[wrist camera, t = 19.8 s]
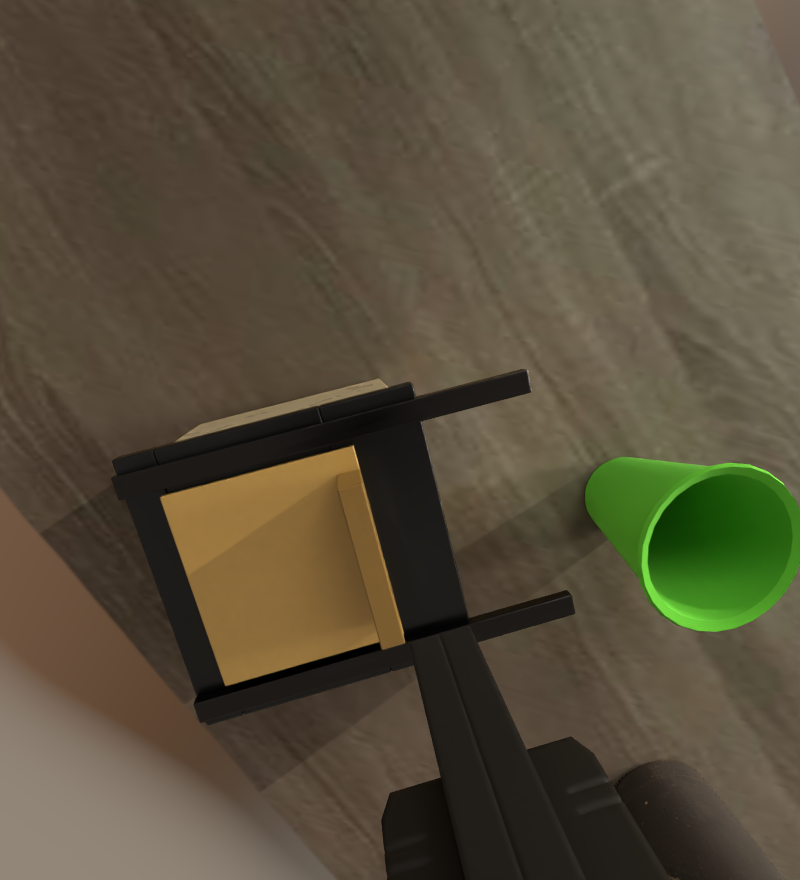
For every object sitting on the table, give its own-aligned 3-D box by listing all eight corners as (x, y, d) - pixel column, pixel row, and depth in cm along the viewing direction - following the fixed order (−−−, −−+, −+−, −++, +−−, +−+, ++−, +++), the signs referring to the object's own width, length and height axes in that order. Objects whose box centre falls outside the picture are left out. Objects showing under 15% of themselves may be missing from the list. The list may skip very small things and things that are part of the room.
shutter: (161, 494, 24) (139, 515, 21) (353, 444, 24) (356, 458, 22) (226, 681, 26) (213, 723, 23) (403, 630, 26) (411, 665, 23)
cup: (541, 542, 40) (618, 619, 29) (576, 416, 38) (670, 447, 28) (657, 563, 41) (772, 645, 30) (695, 442, 40) (830, 482, 29)
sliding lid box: (187, 417, 35) (105, 463, 23) (458, 348, 37) (525, 355, 24) (247, 601, 38) (203, 735, 25) (498, 531, 39) (578, 625, 26)
